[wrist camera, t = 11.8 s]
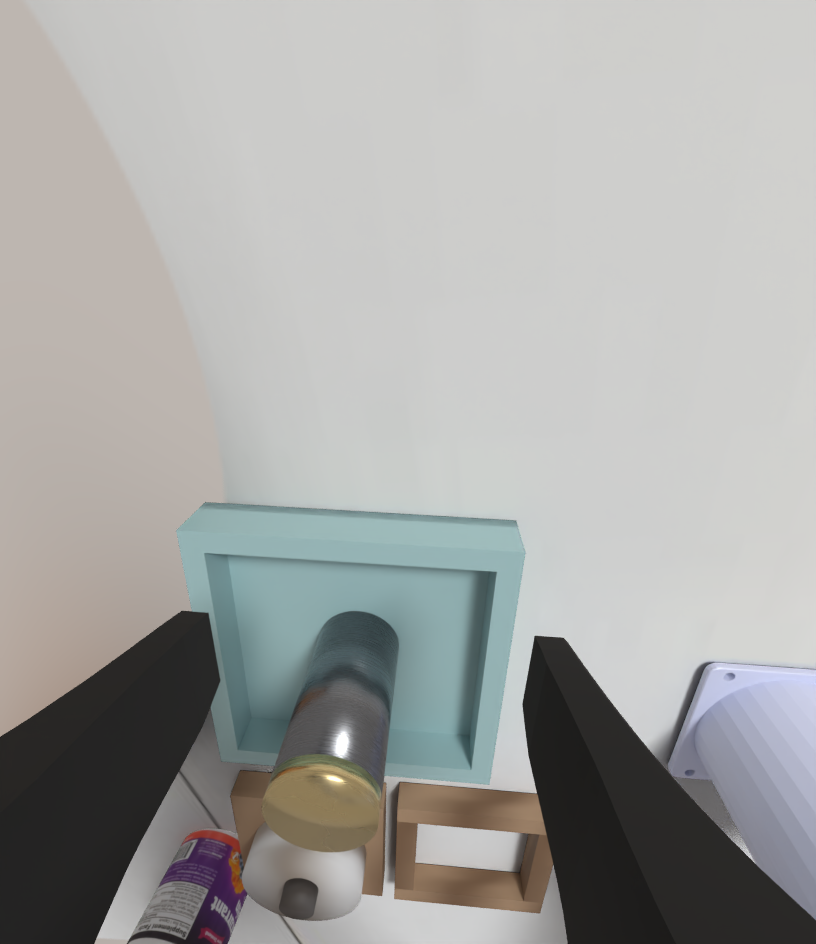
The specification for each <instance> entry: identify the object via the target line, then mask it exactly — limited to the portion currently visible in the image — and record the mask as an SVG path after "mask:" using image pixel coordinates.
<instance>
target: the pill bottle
mask: <svg viewBox="0 0 816 944" xmlns="http://www.w3.org/2000/svg"><path fill="white" fill-rule="evenodd" d="M243 870H244V865H243V860H242V855H241V850H240V844H239V839H238V834H236V833H234V832H231V831H227V830H223V829H215V828H207V829H200V830H196V831H194V832H192V833H190V834H189V835H188V836H187V837H186V838H185V840H184V841H183V843H182V845H181V847H180V849H179V851H178V852H177V854H176V856H175V858H174V859H173V861H172V863H171V865H170V867H169V869H168V870H167V872H166V874H165V876H164V878H163V879H162V881H161V883H160V885H159V887H158V888H157V890H156V892H155V894H154V896H153V898H152V899H151V901H150V903H149V905H148V907H147V908H146V910H145V912H144V914H143V916H142V917H141V919H140V921H139V923H138V925H137V927H136V928H135V930H134V932H133V934H132V936H131V937H130V939H129V941H128V943H127V944H228V941H229V939H230V936H231V934H232V931H233V929H234V926H235V924H236V921H237V919H238V916H239V913H240V911H241V908H242V906H243V903H244V901H245V898H246V896H247V892H246V890H245V889H244V887H243V883H242V873H243Z"/></svg>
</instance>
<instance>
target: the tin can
mask: <svg viewBox="0 0 816 944" xmlns="http://www.w3.org/2000/svg"><path fill="white" fill-rule="evenodd" d="M398 653H399V640H398V637H397V634H396V632H395V631H394V629H393V628H392V627H391V626H390V624H389V623H387V622H386V621H385V620H383V619H382V618H380V617H378V616H376V615H374V614H371V613H367V612H362V611H348V612H343V613H339V614H337V615H335V616H333V617H331V618H330V619H329V620H328V621H327V622H326V623H325V624H324V625H323V627H322V629H321V631H320V634H319V637H318V640H317V643H316V646H315V648H314V651H313V654H312V657H311V660H310V663H309V666H308V669H307V672H306V675H305V678H304V681H303V684H302V687H301V690H300V692H299V695H298V698H297V701H296V704H295V707H294V710H293V713H292V716H291V719H290V722H289V725H288V728H287V731H286V734H285V736H284V739H283V742H282V745H281V748H280V751H279V754H278V757H277V760H276V763H275V766H274V769H273V772H272V775H271V778H270V781H269V783H268V786H267V789H266V792H265V795H264V798H263V801H262V815H263V818H264V820H265V822H266V823H267V825H268V826H269V827H270V829H271V830H272V831H273V832H274V833H275V834H277V835H278V836H279V837H281V838H282V839H284V840H286V841H287V842H289V843H291V844H293V845H296V846H298V847H301V848H304V849H308V850H312V851H318V852H344V851H349V850H353V849H356V848H358V847H361V846H363V845H364V844H366V843H367V842H369V841H370V840H371V839H372V838H373V837H374V835H375V834H376V832H377V829H378V825H379V817H380V808H381V799H382V791H383V782H384V774H385V765H386V756H387V748H388V739H389V730H390V722H391V713H392V705H393V696H394V687H395V679H396V670H397V662H398Z"/></svg>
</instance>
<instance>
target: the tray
mask: <svg viewBox="0 0 816 944" xmlns="http://www.w3.org/2000/svg"><path fill="white" fill-rule="evenodd" d="M176 532H177V537H178V542H179V547H180V552H181V557H182V562H183V568H184V573H185V578H186V583H187V588H188V593H189V598H190V604H191V609H192V612H205V613H209V618H210V624H211V630H212V635H213V641H214V647H215V652H216V658H217V664H218V669H219V675H220V683H219V686H218V689H217V691H216V694H215V696H214V699H213V702H212V704H211V712H212V717H213V722H214V727H215V733H216V738H217V743H218V748H219V753H220V758H221V762H233V763H244V764H256V765H267V766H275V763H276V760H277V757H278V754H279V751H280V748H281V745H282V742H283V739H284V736H285V734H286V731H287V728H288V725H289V722H290V719H291V716H292V713H293V710H294V707H295V704H296V701H297V698H298V695H299V692H300V690H301V687H302V684H303V681H304V678H305V675H306V672H307V669H308V666H309V663H310V660H311V657H312V654H313V651H314V648H315V646H316V643H317V640H318V637H319V634H320V631H321V629H322V627H323V625H324V624H325V623H326V622H327V621H328V620H329V619H330V618H331V617H333V616H335V615H337V614H339V613H343V612H348V611H362V612H367V613H371V614H374V615H376V616H378V617H380V618H382V619H383V620H385V621H386V622H387V623H389V624H390V626H391V627H392V628H393V629H394V631H395V632H396V634H397V637H398V640H399V653H398V662H397V670H396V679H395V687H394V696H393V705H392V713H391V722H390V730H389V739H388V748H387V756H386V765H385V774H384V776H394V777H406V778H417V779H429V780H441V781H452V782H464V783H475V784H487V785H489V784H490V777H491V771H492V764H493V758H494V752H495V745H496V739H497V732H498V726H499V719H500V713H501V707H502V700H503V694H504V687H505V681H506V674H507V668H508V662H509V655H510V649H511V642H512V636H513V629H514V623H515V616H516V610H517V604H518V597H519V591H520V584H521V578H522V571H523V565H524V559H525V549H524V545H523V542H522V539H521V535H520V532H519V529H518V525H517V522H516V521H514V520H497V519H480V518H463V517H446V516H429V515H412V514H395V513H378V512H361V511H344V510H327V509H310V508H294V507H277V506H260V505H243V504H226V503H207V502H205V503H204V504H203V505H202V506H201V507H200V508H199V509H198V510H197V511H196V512H195V513H194V514H193V515H192V516H191V517H190V518H188V520H186V521H185V522H184V523H183V524H182V525H181V526H180V527H179V528H178V529H177V530H176Z"/></svg>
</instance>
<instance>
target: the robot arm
mask: <svg viewBox="0 0 816 944" xmlns="http://www.w3.org/2000/svg"><path fill="white" fill-rule="evenodd" d="M219 683H220V675H219V669H218V664H217V658H216V652H215V647H214V641H213V635H212V630H211V624H210V618H209V613H205V612H190V611H181V612H180V613H178V614H177V615H175V616H174V617H173V618H171V619H170V620H168V621H167V622H165V623H164V624H163V625H161V626H160V627H158V628H157V629H156V630H154V631H153V632H152V633H150V634H149V635H148V636H146V637H145V638H144V639H142V640H141V641H139V642H138V643H137V644H135V645H134V646H133V647H131V648H130V649H129V650H127V651H126V652H124V653H123V654H122V655H120V656H119V657H118V658H116V659H115V660H113V661H112V662H111V663H109V664H108V665H106V666H105V667H104V668H102V669H101V670H99V671H98V672H97V673H95V674H94V675H93V676H91V677H90V678H88V679H87V680H86V681H84V682H83V683H81V684H80V685H78V686H77V687H75V688H74V689H73V690H71V691H69V692H68V693H66V694H65V695H64V696H62V697H60V698H59V699H57V700H56V701H55V702H53V703H52V704H50V705H49V706H47V707H46V708H44V709H43V710H41V711H40V712H38V713H37V714H35V715H34V716H32V717H31V718H30V719H28V720H26V721H25V722H23V723H21V724H20V725H18V726H17V727H15V728H14V729H12V730H10V731H9V732H7V733H6V734H4V735H2V736H1V737H0V944H94V943H95V940H96V938H97V936H98V933H99V931H100V929H101V926H102V924H103V922H104V920H105V917H106V915H107V913H108V911H109V908H110V906H111V904H112V902H113V899H114V897H115V895H116V893H117V890H118V888H119V886H120V883H121V881H122V879H123V877H124V874H125V872H126V870H127V868H128V866H129V864H130V862H131V860H132V858H133V856H134V854H135V852H136V850H137V848H138V846H139V844H140V842H141V840H142V838H143V836H144V834H145V833H146V831H147V829H148V827H149V825H150V823H151V821H152V820H153V818H154V816H155V814H156V812H157V810H158V809H159V807H160V805H161V803H162V801H163V799H164V797H165V796H166V794H167V792H168V790H169V788H170V786H171V785H172V783H173V781H174V779H175V777H176V775H177V774H178V772H179V770H180V768H181V766H182V764H183V762H184V761H185V759H186V757H187V755H188V753H189V751H190V749H191V747H192V745H193V744H194V742H195V740H196V738H197V736H198V734H199V732H200V730H201V728H202V726H203V724H204V721H205V719H206V716H207V714H208V712H209V709H210V707H211V704H212V702H213V699H214V696H215V694H216V691H217V689H218V686H219ZM523 713H524V722H525V731H526V738H527V746H528V754H529V759H530V764H531V768H532V773H533V777H534V781H535V786H536V790H537V795H538V799H539V804H540V808H541V812H542V817H543V821H544V825H545V830H546V834H547V839H548V843H549V847H550V852H551V856H552V860H553V865H554V869H555V873H556V878H557V882H558V888H559V893H560V898H561V903H562V908H563V914H564V920H565V927H566V934H567V940H568V944H816V670H812V669H798V668H784V667H770V666H756V665H743V664H729V663H712V664H709V665H708V666H706V668H705V669H704V672H703V674H702V677H701V679H700V682H699V685H698V687H697V690H696V692H695V695H694V698H693V700H692V703H691V706H690V708H689V711H688V713H687V716H686V719H685V721H684V724H683V726H682V729H681V732H680V734H679V737H678V740H677V742H676V745H675V747H674V750H673V753H672V755H671V758H670V761H669V763H668V769H669V771H670V773H671V775H672V776H674V777H679V778H690V779H702V780H712V782H713V784H714V786H715V788H716V790H717V792H718V794H719V795H720V797H721V799H722V801H723V803H724V805H725V807H726V809H727V811H728V812H729V814H730V816H731V818H732V820H733V822H734V824H735V826H736V827H737V829H738V831H739V833H740V835H741V837H742V839H743V841H744V843H745V844H746V846H747V848H748V850H749V852H750V854H751V856H752V858H753V859H754V861H755V863H756V864H755V863H754V862H753V861H752V860H751V859H750V858H749V857H748V856H747V855H746V854H745V853H744V852H743V851H742V850H741V849H740V848H739V847H738V846H737V845H736V844H735V843H734V842H733V841H732V840H731V839H730V838H729V837H728V836H727V835H726V834H725V833H724V832H723V831H722V830H721V829H720V828H719V827H718V826H717V825H716V824H715V823H714V822H713V821H712V820H711V819H710V817H709V816H708V815H707V814H706V813H705V812H704V811H703V810H702V809H701V808H700V807H699V806H698V805H697V804H696V803H695V802H694V800H693V799H692V798H691V797H690V796H689V795H688V794H687V793H686V792H685V791H684V789H683V788H682V787H681V786H680V785H679V784H678V783H677V782H676V781H675V779H674V778H673V777H672V776H671V775H670V774H669V773H668V771H667V770H666V769H665V768H664V767H663V766H662V764H661V763H660V762H659V761H658V760H657V759H656V757H655V756H654V755H653V754H652V753H651V752H650V750H649V749H648V748H647V747H646V745H645V744H644V743H643V742H642V741H641V739H640V738H639V737H638V736H637V735H636V733H635V732H634V731H633V729H632V728H631V727H630V726H629V724H628V723H627V722H626V721H625V719H624V718H623V717H622V716H621V714H620V713H619V712H618V710H617V709H616V708H615V707H614V705H613V704H612V703H611V701H610V700H609V699H608V697H607V696H606V695H605V694H604V692H603V691H602V689H601V688H600V687H599V685H598V684H597V683H596V681H595V680H594V679H593V677H592V676H591V674H590V673H589V672H588V670H587V669H586V668H585V666H584V665H583V663H582V662H581V661H580V659H579V658H578V656H577V655H576V653H575V652H574V651H573V649H572V648H571V646H570V645H569V644H568V642H567V641H566V640H565V639H564V638H558V637H544V636H535V638H534V644H533V649H532V655H531V660H530V666H529V671H528V677H527V682H526V688H525V694H524V699H523Z"/></svg>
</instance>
